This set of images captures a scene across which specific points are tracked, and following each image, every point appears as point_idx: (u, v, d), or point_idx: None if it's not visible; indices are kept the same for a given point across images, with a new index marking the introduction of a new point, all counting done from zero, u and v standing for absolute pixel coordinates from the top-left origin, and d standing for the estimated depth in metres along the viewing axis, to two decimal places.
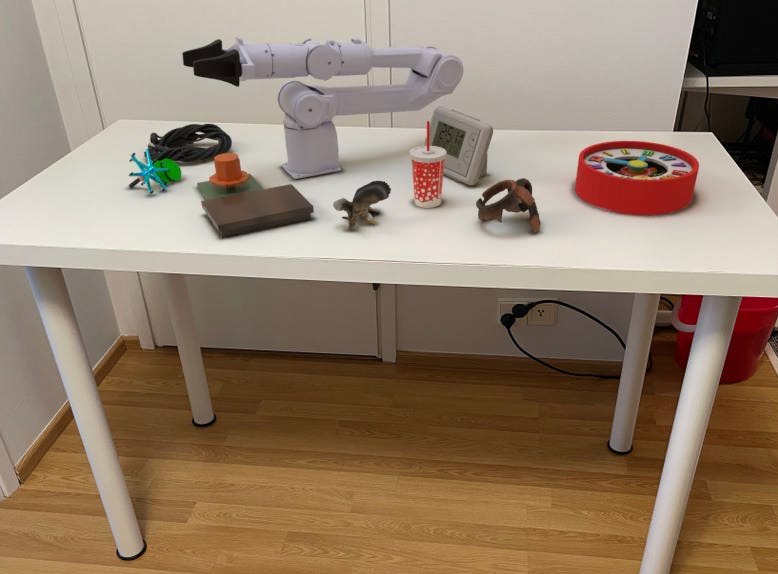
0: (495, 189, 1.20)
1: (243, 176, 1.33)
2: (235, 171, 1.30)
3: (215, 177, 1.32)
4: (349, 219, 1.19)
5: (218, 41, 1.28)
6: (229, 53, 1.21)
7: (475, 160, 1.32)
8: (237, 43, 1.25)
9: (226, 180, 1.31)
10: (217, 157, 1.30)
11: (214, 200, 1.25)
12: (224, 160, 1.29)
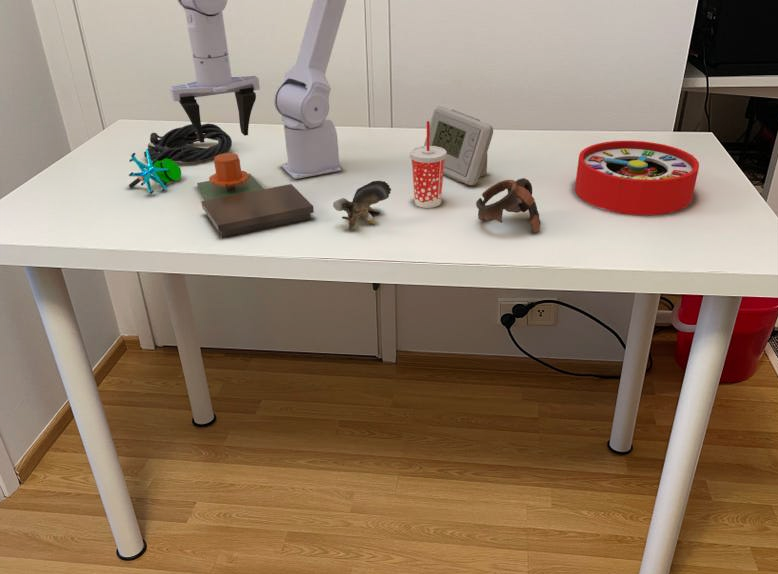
0: (495, 189, 1.20)
1: (243, 176, 1.33)
2: (235, 171, 1.30)
3: (215, 177, 1.32)
4: (349, 219, 1.19)
5: (195, 107, 1.21)
6: (249, 102, 1.25)
7: (475, 160, 1.32)
8: None
9: (226, 180, 1.31)
10: (217, 157, 1.30)
11: (214, 200, 1.25)
12: (224, 160, 1.29)
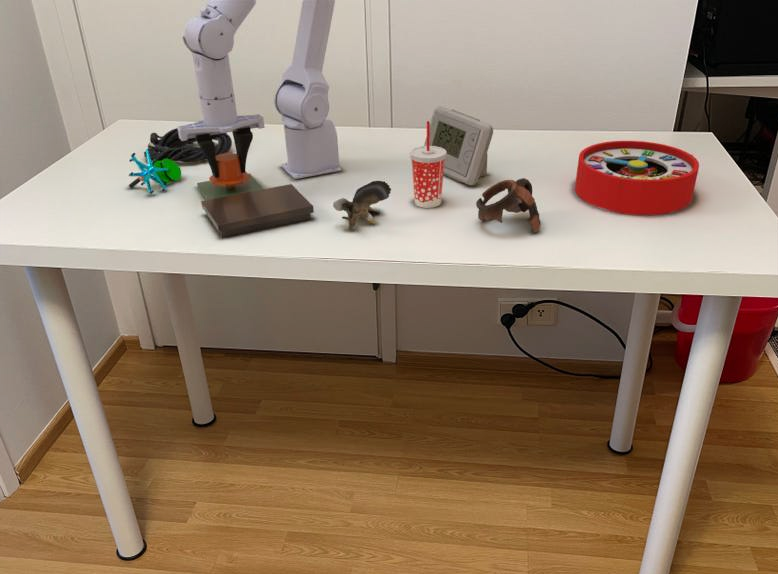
0: (495, 189, 1.20)
1: (243, 176, 1.33)
2: (235, 171, 1.30)
3: None
4: (349, 219, 1.19)
5: (211, 145, 1.26)
6: (246, 142, 1.28)
7: (475, 160, 1.32)
8: None
9: (226, 180, 1.31)
10: (217, 157, 1.30)
11: (214, 200, 1.25)
12: (224, 160, 1.29)
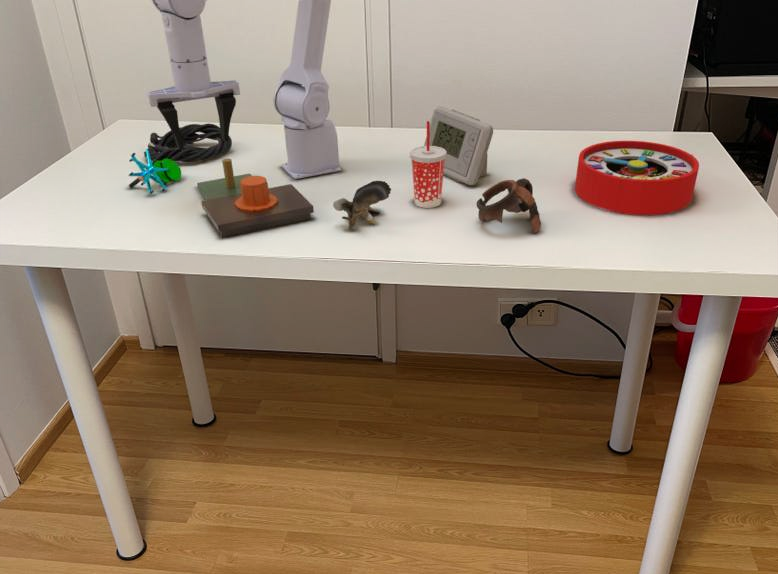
0: (495, 189, 1.20)
1: (271, 200, 1.23)
2: (263, 196, 1.21)
3: (241, 201, 1.23)
4: (349, 219, 1.19)
5: (173, 112, 1.18)
6: (228, 107, 1.22)
7: (475, 160, 1.32)
8: None
9: (253, 205, 1.21)
10: (244, 180, 1.21)
11: (214, 200, 1.25)
12: (251, 184, 1.20)
